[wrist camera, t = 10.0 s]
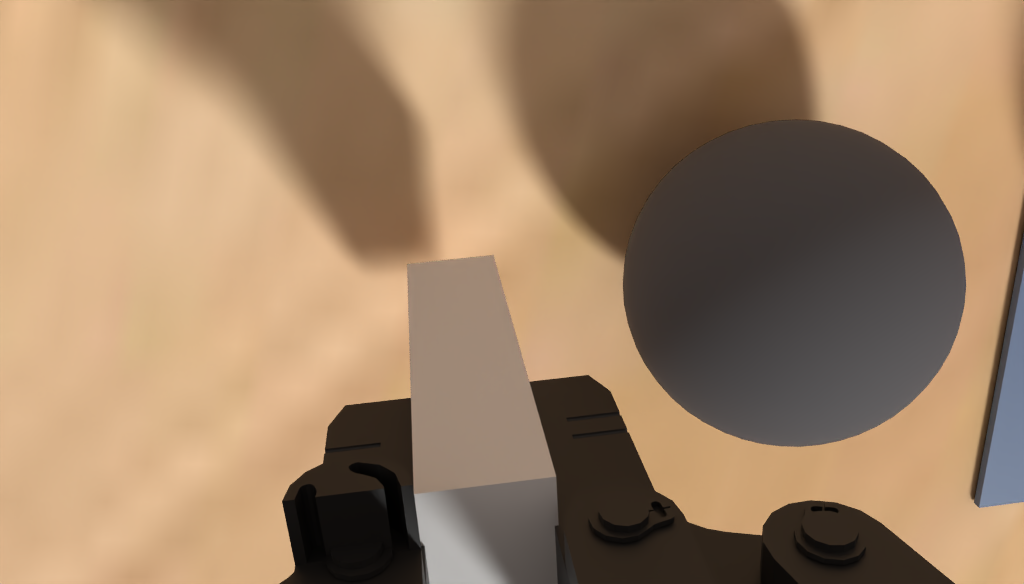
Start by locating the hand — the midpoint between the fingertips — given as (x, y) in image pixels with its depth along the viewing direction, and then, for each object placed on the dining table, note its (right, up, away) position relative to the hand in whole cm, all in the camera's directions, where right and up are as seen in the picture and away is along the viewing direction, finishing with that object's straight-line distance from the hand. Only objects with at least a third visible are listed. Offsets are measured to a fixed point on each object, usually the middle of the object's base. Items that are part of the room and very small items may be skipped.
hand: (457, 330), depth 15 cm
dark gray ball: (+6, +1, 0) cm, 6 cm away
